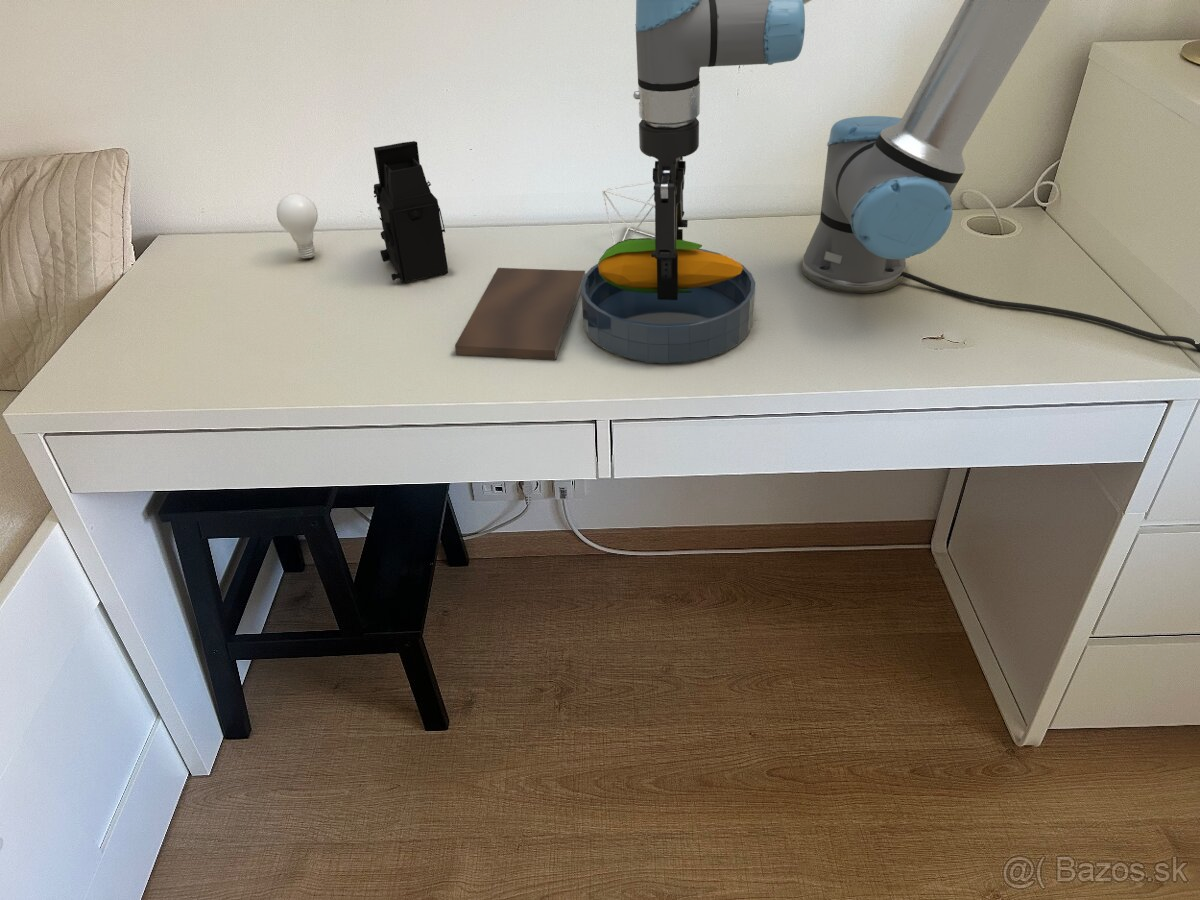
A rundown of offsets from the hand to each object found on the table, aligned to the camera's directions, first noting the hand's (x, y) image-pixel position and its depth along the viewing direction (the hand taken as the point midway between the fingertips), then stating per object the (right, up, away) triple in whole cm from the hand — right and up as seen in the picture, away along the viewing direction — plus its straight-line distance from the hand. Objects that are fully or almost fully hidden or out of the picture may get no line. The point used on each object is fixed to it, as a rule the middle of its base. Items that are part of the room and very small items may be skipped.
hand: (670, 285), depth 125 cm
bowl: (0, -4, +3) cm, 6 cm away
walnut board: (-21, -3, +7) cm, 22 cm away
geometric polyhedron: (-3, +12, +25) cm, 28 cm away
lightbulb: (-59, +9, +25) cm, 65 cm away
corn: (0, -1, +1) cm, 1 cm away
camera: (-40, +7, +22) cm, 46 cm away
